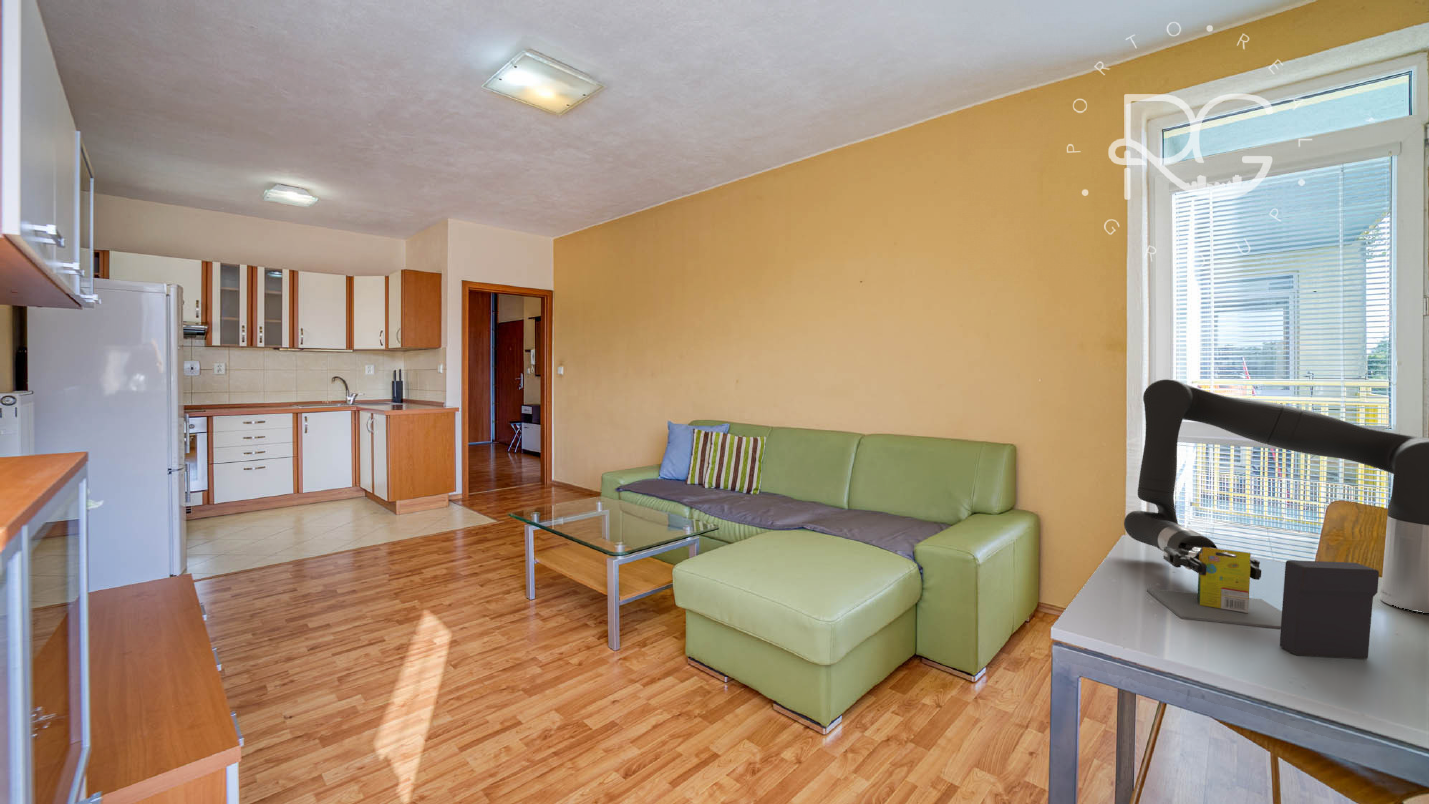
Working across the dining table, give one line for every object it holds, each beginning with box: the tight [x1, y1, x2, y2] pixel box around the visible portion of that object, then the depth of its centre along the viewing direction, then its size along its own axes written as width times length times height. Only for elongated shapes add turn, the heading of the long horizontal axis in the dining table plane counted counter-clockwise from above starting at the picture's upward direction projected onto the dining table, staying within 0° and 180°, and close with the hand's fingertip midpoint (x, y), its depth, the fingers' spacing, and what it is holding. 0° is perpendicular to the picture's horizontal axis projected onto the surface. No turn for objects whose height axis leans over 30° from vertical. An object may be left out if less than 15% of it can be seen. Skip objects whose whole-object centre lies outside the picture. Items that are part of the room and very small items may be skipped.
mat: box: [1145, 588, 1282, 630], centre depth 113 cm, size 20×14×1 cm
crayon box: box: [1196, 547, 1252, 614], centre depth 113 cm, size 7×3×12 cm, turn 58°
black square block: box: [1279, 559, 1380, 660], centre depth 96 cm, size 11×4×15 cm, turn 84°
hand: (1230, 572), depth 111 cm, fingers open, 8 cm apart
